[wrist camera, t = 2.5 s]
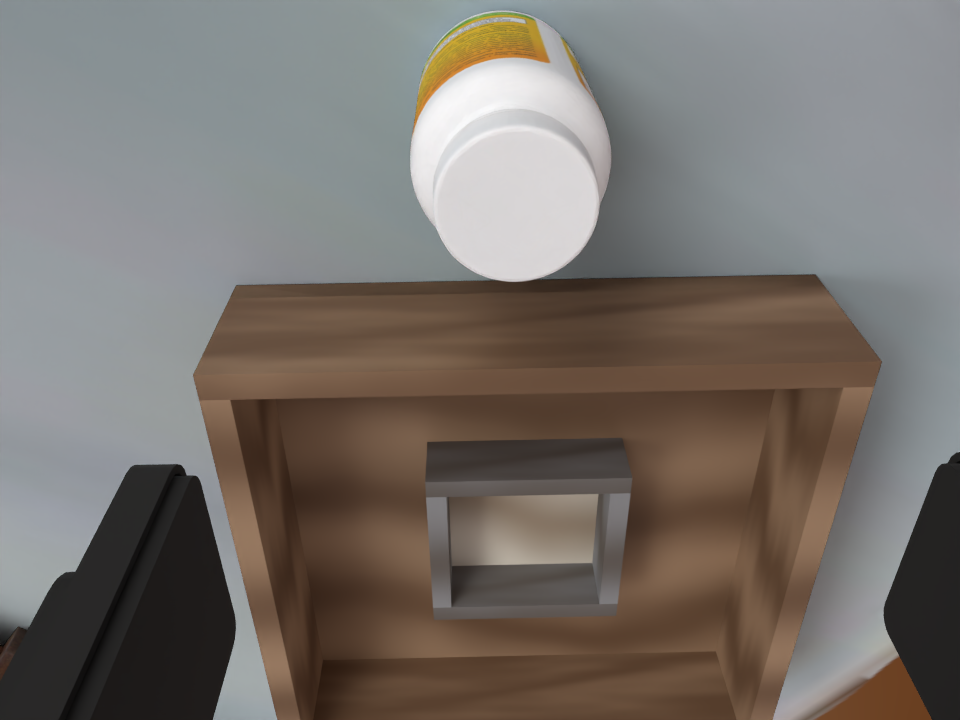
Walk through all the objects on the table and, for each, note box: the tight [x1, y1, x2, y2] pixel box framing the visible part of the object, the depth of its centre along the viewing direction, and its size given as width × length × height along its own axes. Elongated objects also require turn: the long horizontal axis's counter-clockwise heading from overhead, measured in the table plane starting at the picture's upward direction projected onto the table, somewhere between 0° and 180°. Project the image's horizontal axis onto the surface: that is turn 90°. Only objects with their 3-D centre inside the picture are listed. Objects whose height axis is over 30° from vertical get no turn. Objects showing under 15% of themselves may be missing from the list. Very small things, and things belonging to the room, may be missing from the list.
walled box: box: [193, 275, 882, 720], centre depth 35 cm, size 22×22×6 cm
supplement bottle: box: [410, 11, 611, 282], centre depth 24 cm, size 5×5×10 cm
